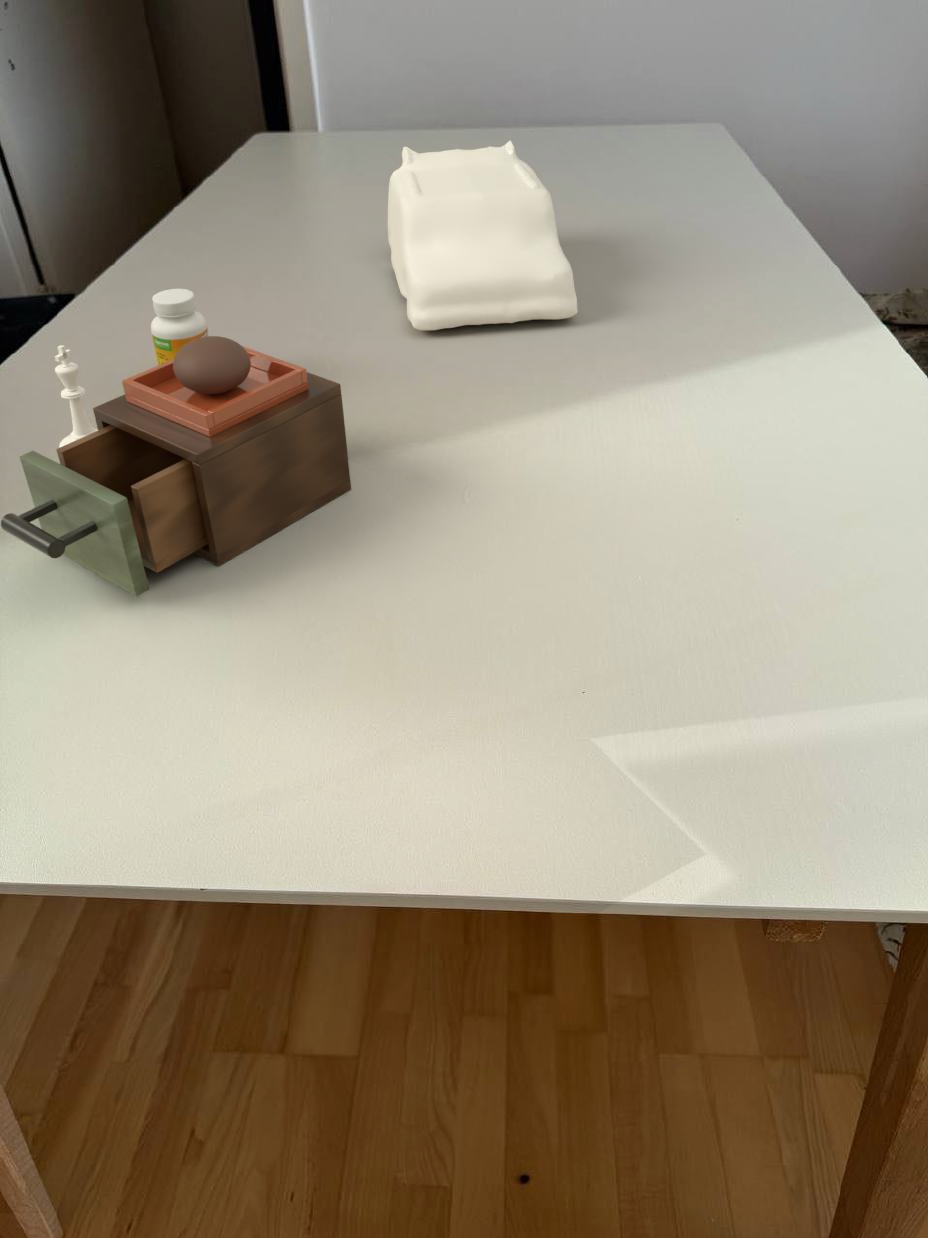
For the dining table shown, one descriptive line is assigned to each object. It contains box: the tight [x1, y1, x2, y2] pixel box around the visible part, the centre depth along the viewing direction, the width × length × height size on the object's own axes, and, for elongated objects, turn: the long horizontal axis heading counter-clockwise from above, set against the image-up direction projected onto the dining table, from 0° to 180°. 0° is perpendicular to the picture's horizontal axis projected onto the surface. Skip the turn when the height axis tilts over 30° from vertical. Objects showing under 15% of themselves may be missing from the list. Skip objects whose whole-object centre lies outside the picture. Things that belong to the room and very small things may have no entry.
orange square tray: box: [121, 345, 309, 437], centre depth 87 cm, size 10×10×2 cm
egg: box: [173, 335, 251, 394], centre depth 86 cm, size 6×6×4 cm
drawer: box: [0, 425, 208, 598], centre depth 84 cm, size 18×12×8 cm, turn 141°
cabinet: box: [92, 371, 352, 567], centre depth 90 cm, size 15×13×10 cm
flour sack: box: [387, 140, 579, 332], centre depth 128 cm, size 19×30×13 cm, turn 9°
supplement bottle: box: [150, 288, 210, 366], centre depth 108 cm, size 5×5×10 cm
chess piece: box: [54, 344, 98, 448], centre depth 98 cm, size 5×5×10 cm
